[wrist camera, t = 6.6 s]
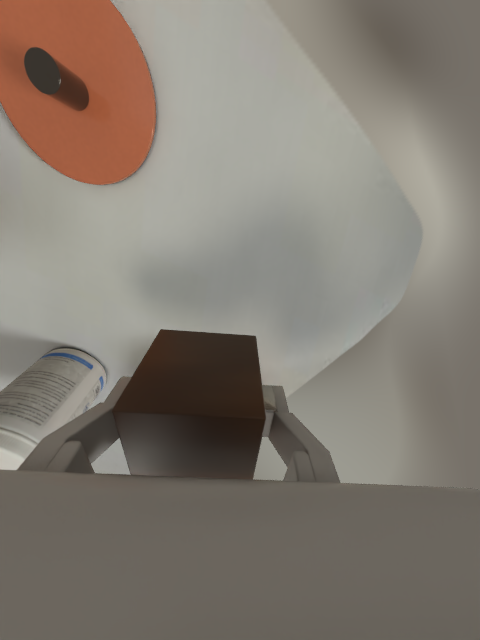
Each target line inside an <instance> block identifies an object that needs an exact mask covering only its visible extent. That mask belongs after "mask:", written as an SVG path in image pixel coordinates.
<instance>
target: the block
mask: <svg viewBox="0 0 480 640" xmlns="http://www.w3.org/2000/svg"><path fill="white" fill-rule="evenodd" d="M112 413H113V417H114V420H115V424H116V427H117V430H118V434H119V437H120V440H121V444H122V447H123V450H124V454H125V457H126V460H127V464H128V467H129V471H130V474H131V475H149V476H175V477H201V478H226V479H251V480H253V476H254V471H255V467H256V462H257V458H258V453H259V449H260V444H261V439H262V435H263V430H264V426H265V421H266V413H265V405H264V397H263V389H262V381H261V373H260V365H259V357H258V349H257V341H256V336H250V335H235V334H221V333H206V332H192V331H178V330H163V329H161V330H160V331H159V333H158V335H157V336H156V338H155V340H154V341H153V343H152V345H151V346H150V348H149V350H148V351H147V353H146V355H145V356H144V358H143V359H142V361H141V363H140V364H139V366H138V368H137V369H136V371H135V373H134V374H133V376H132V378H131V379H130V381H129V383H128V384H127V386H126V388H125V389H124V391H123V393H122V394H121V396H120V398H119V399H118V401H117V402H116V404H115V406H114V407H113V409H112Z"/></svg>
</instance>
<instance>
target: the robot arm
mask: <svg viewBox="0 0 480 640" xmlns="http://www.w3.org/2000/svg"><path fill="white" fill-rule="evenodd" d="M131 378H132V377H124V376H123V377H121V378H120V379H119V381H118V382H117V384H116V385H115V387H114V388H113V390H112V391H111V393H110V394H109V396H108V397H107V399H106V400H105V402H104V403H99V404H97V405H96V406H94V407H93V408H91V409H89V410H88V411H86V412H85V413H83V414H81V415H80V416H78V417H76V418H75V419H73V420H72V421H70V422H68V423H67V424H65V425H63V426H62V427H60V428H59V429H57V430H55V431H54V432H52V433H51V434H49V435H47V436H46V437H44V438H43V439H42V440H41V441H40V442H39V444H38V445H37V446H36V447H35V448H34V450H33V451H32V452H31V453H30V454H29V456H28V457H27V458H26V459H25V460H24V462H23V463H22V464H21V465H20V467H19V468H18V469H17V470H0V640H480V490H478V489H472V488H454V487H428V486H403V485H377V484H352V483H351V484H350V483H340V480H339V477H338V475H337V472H336V469H335V466H334V464H333V461H332V458H331V455H330V452H329V451H328V450H327V449H326V448H325V447H324V446H323V445H322V444H321V443H320V442H319V441H318V440H317V438H316V437H315V436H314V435H313V434H312V433H311V432H310V431H309V430H308V429H307V428H306V427H305V426H304V425H303V424H302V423H301V422H300V421H299V420H298V419H297V418H296V417H295V416H294V415H293V413H289V411H288V406H287V402H286V398H285V394H284V390H283V387H282V386H272V385H262V389H263V397H264V405H265V413H266V421H265V426H264V430H263V435H262V437H269V440H270V441H271V443H272V444H273V446H274V447H275V448H276V450H277V452H278V453H279V455H280V456H281V458H282V459H283V461H284V463H285V464H286V466H287V467H288V469H287V471H286V474H285V477H284V480H283V481H274V480H251V479H226V478H201V477H175V476H149V475H123V474H98V473H95V472H94V470H93V468H92V466H91V463H92V462H93V461H95V460H96V459H97V458H98V457H99V456H100V455H101V454H102V453H103V452H104V451H105V450H106V449H107V448H109V447H110V446H111V445H112V444H113V443H114V442H115V441H116V440H117V439H118V438H119V434H118V430H117V427H116V424H115V420H114V417H113V413H112V409H113V407H114V406H115V404H116V402H117V401H118V399H119V398H120V396H121V394H122V393H123V391H124V389H125V388H126V386H127V384H128V383H129V381H130V379H131Z"/></svg>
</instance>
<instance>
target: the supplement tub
mask: <svg viewBox="0 0 480 640" xmlns="http://www.w3.org/2000/svg"><path fill="white" fill-rule="evenodd" d="M105 383H106V373H105V370H104V368H103V367H102V365H101V364H100V363H99V362H98V361H97V360H96V359H94V358H93V357H91V356H90V355H88V354H86V353H84V352H82V351H79V350H75V349H68V348H62V349H56V350H53V351H50V352H48V353H47V354H45V355H44V356H43V357H42V358H40V359H39V360H38V361H37V362H36V363H34V364H33V365H32V366H31V367H30V368H28V369H27V370H26V371H25V372H24V373H22V374H21V375H20V376H19V377H18V378H16V379H15V380H14V381H13V382H12V383H10V384H9V385H8V386H7V387H6V388H4V389H3V390H2V391H1V392H0V470H17V469H18V468H19V467H20V465H21V464H22V463H23V462H24V460H25V459H26V458H27V457H28V456H29V454H30V453H31V452H32V451H33V450H34V448H35V447H36V446H37V445H38V444H39V442H40V441H41V440H42V439H43V438H44V437H46V436H47V435H49V434H51V433H52V432H54V431H55V430H57V429H59V428H60V427H62V426H63V425H65V424H67V423H68V422H70V421H72V420H73V419H75V418H76V417H78V416H80V415H81V414H83V413H85V412H86V411H87V410H88V409H89V407H90V406H91V404H92V403H93V401H94V400H95V398H96V397H97V395H98V394H99V393H100V391H101V390H102V388H103V387H104V385H105Z"/></svg>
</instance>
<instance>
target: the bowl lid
mask: <svg viewBox="0 0 480 640" xmlns="http://www.w3.org/2000/svg"><path fill="white" fill-rule="evenodd" d="M0 102H1V104H2V106H3V108H4V110H5V112H6V114H7V115H8V117H9V119H10V121H11V122H12V124H13V126H14V127H15V128H16V130H17V131H18V133H19V134H20V136H21V137H22V138H23V139H24V141H25V142H26V143H27V144H28V145H29V147H30V148H31V149H32V150H33V151H34V152H35V153H36V154H37V155H38V156H39V157H40V158H42V159H43V160H44V161H45V162H46V163H47V164H49V165H50V166H51V167H53V168H54V169H56V170H57V171H59V172H60V173H62V174H64V175H66V176H68V177H70V178H72V179H75V180H77V181H80V182H84V183H89V184H95V185H107V184H114V183H117V182H120V181H122V180H124V179H126V178H128V177H129V176H131V175H132V174H133V173H134V172H136V170H137V169H138V168H139V167H140V166H141V165H142V163H143V162H144V160H145V159H146V157H147V155H148V152H149V150H150V148H151V144H152V141H153V137H154V132H155V123H156V102H155V95H154V88H153V84H152V79H151V75H150V72H149V68H148V65H147V62H146V59H145V57H144V55H143V52H142V50H141V48H140V45H139V43H138V41H137V40H136V38H135V36H134V34H133V32H132V30H131V29H130V27H129V26H128V24H127V23H126V21H125V20H124V18H123V16H122V15H121V14H120V12H119V11H118V10H117V8H116V7H115V6H114V5H113V3H112V2H111V1H110V0H0Z"/></svg>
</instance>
